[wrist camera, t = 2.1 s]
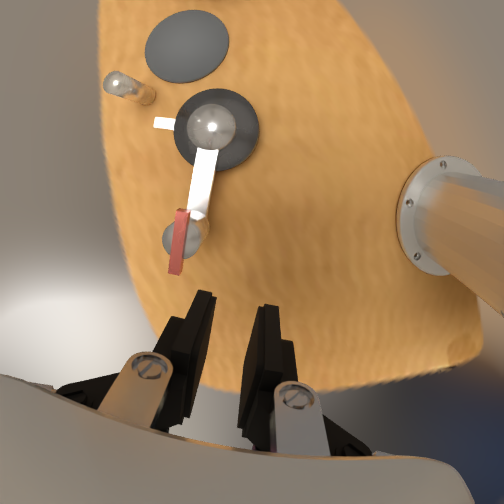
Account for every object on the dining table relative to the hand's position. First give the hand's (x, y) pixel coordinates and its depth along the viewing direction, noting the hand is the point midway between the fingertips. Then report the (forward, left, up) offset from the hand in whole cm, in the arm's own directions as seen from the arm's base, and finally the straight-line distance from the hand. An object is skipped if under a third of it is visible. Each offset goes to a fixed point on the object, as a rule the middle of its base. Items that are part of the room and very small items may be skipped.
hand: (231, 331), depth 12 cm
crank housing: (+7, -8, -17) cm, 20 cm away
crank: (+5, -4, -14) cm, 15 cm away
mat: (+10, -16, -17) cm, 25 cm away
